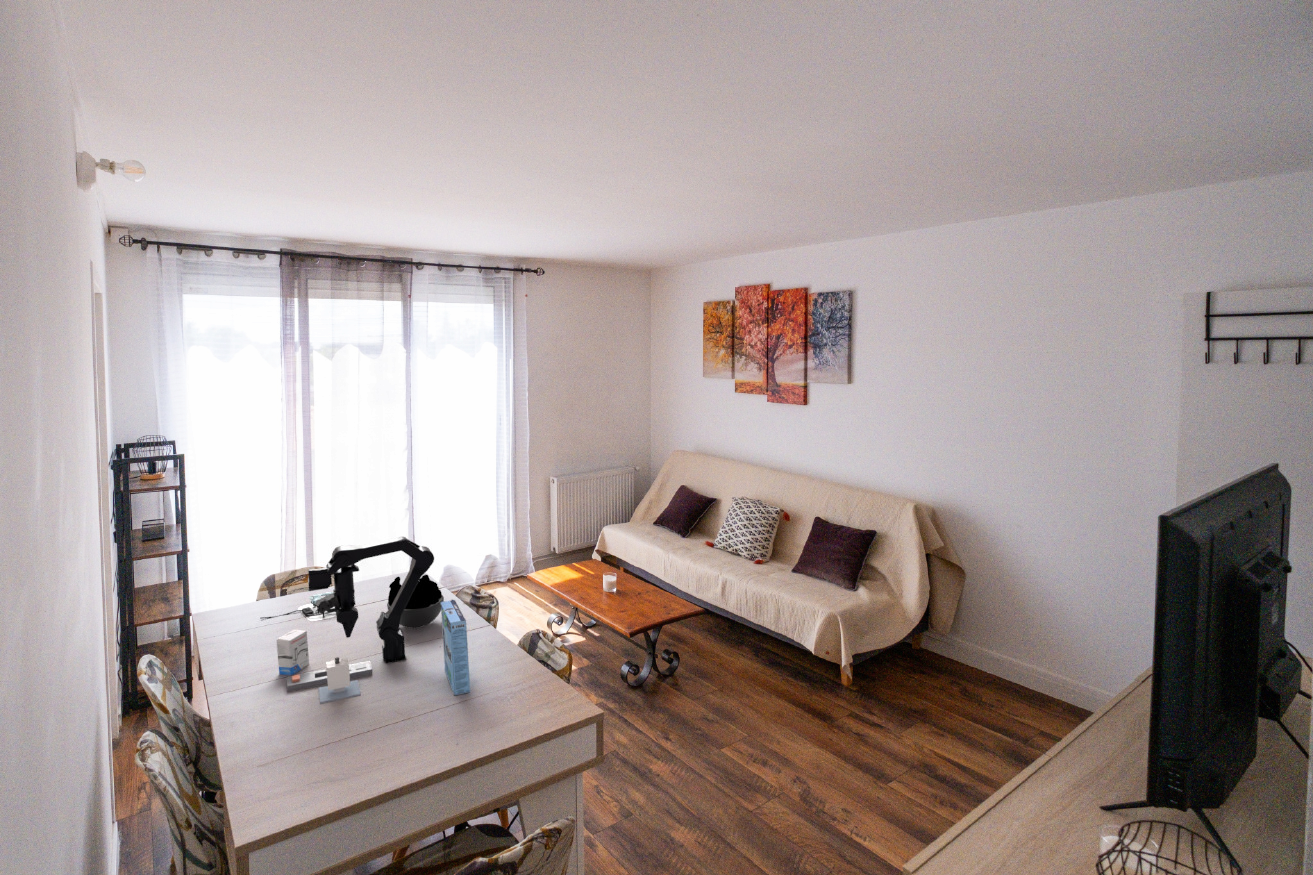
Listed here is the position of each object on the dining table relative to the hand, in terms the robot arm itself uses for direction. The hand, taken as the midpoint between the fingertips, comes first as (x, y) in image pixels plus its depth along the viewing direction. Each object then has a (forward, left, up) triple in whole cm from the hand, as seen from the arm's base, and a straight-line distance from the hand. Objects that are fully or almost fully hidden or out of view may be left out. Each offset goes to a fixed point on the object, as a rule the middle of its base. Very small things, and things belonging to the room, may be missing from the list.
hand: (347, 632), depth 228 cm
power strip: (+6, +6, -12) cm, 15 cm away
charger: (+4, +17, -11) cm, 21 cm away
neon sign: (+12, -58, -13) cm, 61 cm away
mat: (+4, +17, -12) cm, 21 cm away
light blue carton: (-29, +26, -12) cm, 41 cm away
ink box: (+16, -7, -12) cm, 21 cm away
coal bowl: (-25, -25, -12) cm, 37 cm away
